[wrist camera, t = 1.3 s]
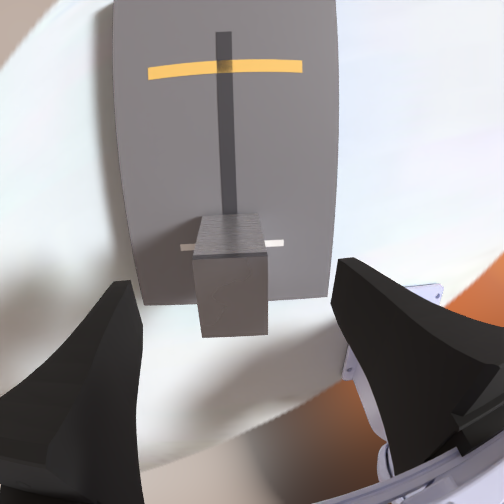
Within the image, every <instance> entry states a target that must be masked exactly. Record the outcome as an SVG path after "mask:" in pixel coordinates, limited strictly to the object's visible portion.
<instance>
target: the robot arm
mask: <svg viewBox="0 0 504 504" xmlns="http://www.w3.org/2000/svg"><path fill="white" fill-rule="evenodd" d="M443 290H444V287H443V286H442V285H441V284H432V285H423V286H414V287H403V286H401V285H400V284H398V283H396V282H395V281H393V280H391V279H390V278H388V277H386V276H385V275H383V274H382V273H380V272H378V271H377V270H375V269H373V268H372V267H370V266H368V265H367V264H365V263H363V262H361V261H360V260H358V259H356V258H354V257H352V258H343V259H338V263H337V269H336V275H335V281H334V287H333V293H332V298H331V306H332V309H333V312H334V315H335V317H336V320H337V322H338V325H339V327H340V329H341V331H342V333H343V335H344V337H345V338H346V340H347V342H348V344H349V345H348V350H347V354H346V359H345V363H344V368H343V372H342V379H343V380H345V381H348V380H353V381H354V383H355V386H356V389H357V391H358V394H359V396H360V399H361V402H362V404H363V407H364V410H365V412H366V415H367V418H368V420H369V423H370V425H371V427H372V429H373V431H374V432H375V433H376V434H377V435H378V436H379V437H381V438H382V439H384V440H385V441H387V443H386V444H385V445H383V446H382V447H381V449H380V451H379V454H378V463H377V473H378V477H379V481H380V482H379V483H377V484H374V485H371V486H369V487H366V488H363V489H360V490H357V491H354V492H351V493H348V494H345V495H342V496H338V497H335V498H332V499H328V500H325V501H321V502H317V503H313V504H387V503H390V502H391V503H392V504H504V327H499V326H495V325H491V324H488V323H484V322H481V321H477V320H474V319H471V318H468V317H466V316H463V315H460V314H457V313H455V312H452V311H450V310H448V309H445V308H443V307H441V306H439V304H440V300H441V297H442V294H443ZM142 351H143V324H142V321H141V317H140V314H139V310H138V307H137V303H136V299H135V296H134V292H133V288H132V284H131V281H130V280H127V281H115V282H113V283H112V284H111V285H110V287H109V288H108V289H107V290H106V292H105V293H104V294H103V295H102V297H101V298H100V299H99V301H98V302H97V303H96V305H95V306H94V307H93V308H92V310H91V311H90V312H89V314H88V315H87V316H86V317H85V319H84V320H83V321H82V322H81V323H80V325H79V326H78V327H77V328H76V329H75V330H74V332H73V333H72V334H71V335H70V336H69V337H68V339H67V340H66V341H65V342H64V343H63V344H62V345H61V346H60V347H59V348H58V349H57V350H56V351H55V352H54V353H53V354H52V355H51V356H50V357H49V358H48V359H47V360H46V361H45V362H44V363H43V364H42V365H41V366H40V367H38V368H37V369H36V370H35V371H34V372H33V373H32V374H30V375H29V376H28V377H27V378H26V379H25V380H23V381H22V382H21V383H19V384H18V385H17V386H16V387H14V388H13V389H11V390H10V391H9V392H7V393H6V394H4V395H3V396H2V397H0V484H1V488H0V504H144V498H143V492H142V486H141V479H140V471H139V462H138V450H137V434H136V404H137V394H138V385H139V376H140V368H141V360H142ZM348 368H349V369H348Z"/></svg>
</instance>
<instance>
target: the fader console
mask: <svg viewBox="0 0 504 504" xmlns="http://www.w3.org/2000/svg"><path fill="white" fill-rule="evenodd" d="M113 88H114V107H115V122H116V134H117V145H118V155H119V164H120V173H121V181H122V188H123V196H124V203H125V209H126V216H127V222H128V228H129V234H130V239H131V245H132V250H133V256H134V261H135V266H136V271H137V276H138V280H139V285H140V289H141V294H142V298H143V303H144V305H184V304H197V297H196V290H195V282H194V274H193V266H192V257H193V253H194V248H195V244H196V240H197V236H198V232H199V228H200V224H201V220H202V216H208V215H228V214H251V213H258V216H259V220H260V225H261V229H262V233H263V237H264V241H265V246H266V250H267V254H268V301H275V300H291V299H305V298H319V297H327V295H328V286H329V277H330V267H331V256H332V245H333V233H334V220H335V205H336V188H337V167H338V136H339V65H338V35H337V16H336V1H335V0H114V6H113Z"/></svg>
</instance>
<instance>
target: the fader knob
mask: <svg viewBox="0 0 504 504" xmlns="http://www.w3.org/2000/svg"><path fill="white" fill-rule="evenodd" d="M192 266H193V274H194V282H195V290H196V297H197V305H198V312H199V319H200V326H201V333H202V338H210V337H236V336H256V335H268V254H267V250H266V246H265V241H264V237H263V233H262V229H261V225H260V220H259V216H258V213H251V214H228V215H208V216H202V220H201V224H200V228H199V232H198V236H197V240H196V244H195V248H194V253H193V257H192Z"/></svg>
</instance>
